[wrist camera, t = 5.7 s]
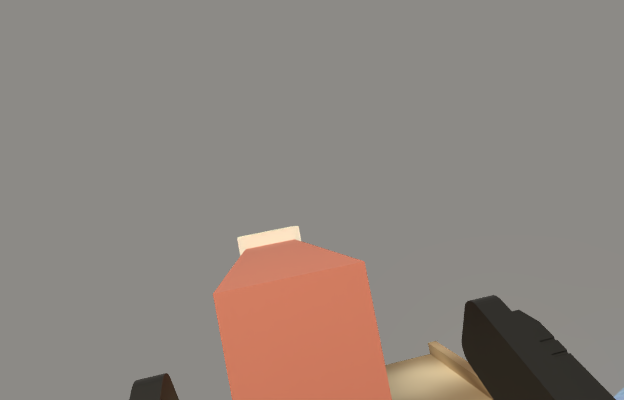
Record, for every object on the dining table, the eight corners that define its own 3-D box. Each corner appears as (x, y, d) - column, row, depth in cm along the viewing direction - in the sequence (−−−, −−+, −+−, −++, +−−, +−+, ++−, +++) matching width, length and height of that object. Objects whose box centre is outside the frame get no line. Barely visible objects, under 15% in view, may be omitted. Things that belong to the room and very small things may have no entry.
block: (412, 408, 9) (375, 220, 9) (221, 458, 8) (185, 258, 8) (302, 277, 31) (292, 226, 32) (250, 288, 31) (240, 236, 31)
